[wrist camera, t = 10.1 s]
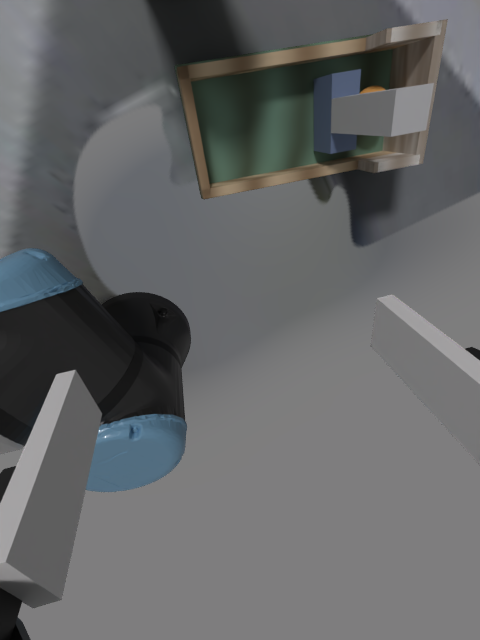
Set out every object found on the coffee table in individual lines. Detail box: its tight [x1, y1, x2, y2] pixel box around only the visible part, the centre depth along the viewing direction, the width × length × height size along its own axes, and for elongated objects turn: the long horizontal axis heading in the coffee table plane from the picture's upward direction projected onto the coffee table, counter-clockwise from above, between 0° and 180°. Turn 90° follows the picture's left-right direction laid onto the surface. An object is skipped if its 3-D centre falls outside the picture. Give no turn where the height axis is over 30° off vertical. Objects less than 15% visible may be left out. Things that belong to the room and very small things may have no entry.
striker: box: [314, 69, 434, 154], centre depth 30 cm, size 3×7×15 cm, turn 8°
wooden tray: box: [175, 19, 448, 199], centre depth 34 cm, size 25×13×8 cm, turn 98°
